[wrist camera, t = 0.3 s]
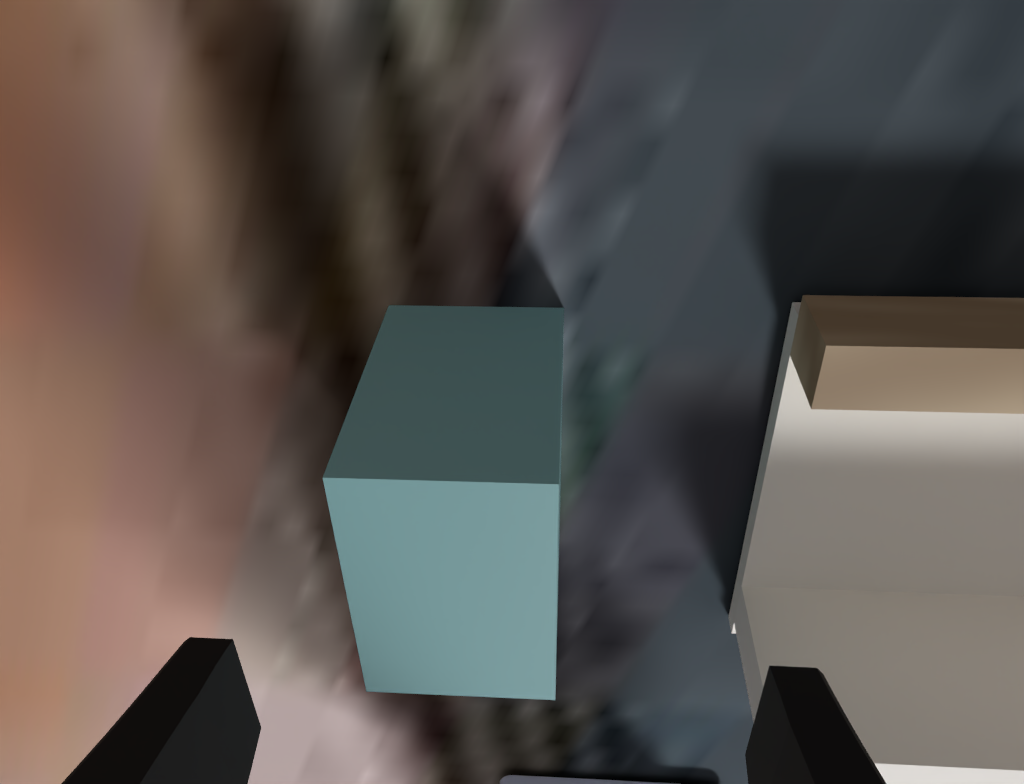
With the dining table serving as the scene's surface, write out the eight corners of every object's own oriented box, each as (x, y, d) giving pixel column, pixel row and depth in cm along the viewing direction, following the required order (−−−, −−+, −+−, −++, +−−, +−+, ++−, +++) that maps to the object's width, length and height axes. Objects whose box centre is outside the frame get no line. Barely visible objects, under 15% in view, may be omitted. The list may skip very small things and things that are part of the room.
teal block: (560, 502, 22) (555, 700, 17) (412, 498, 22) (366, 691, 17) (564, 306, 18) (558, 484, 14) (389, 304, 19) (323, 477, 14)
